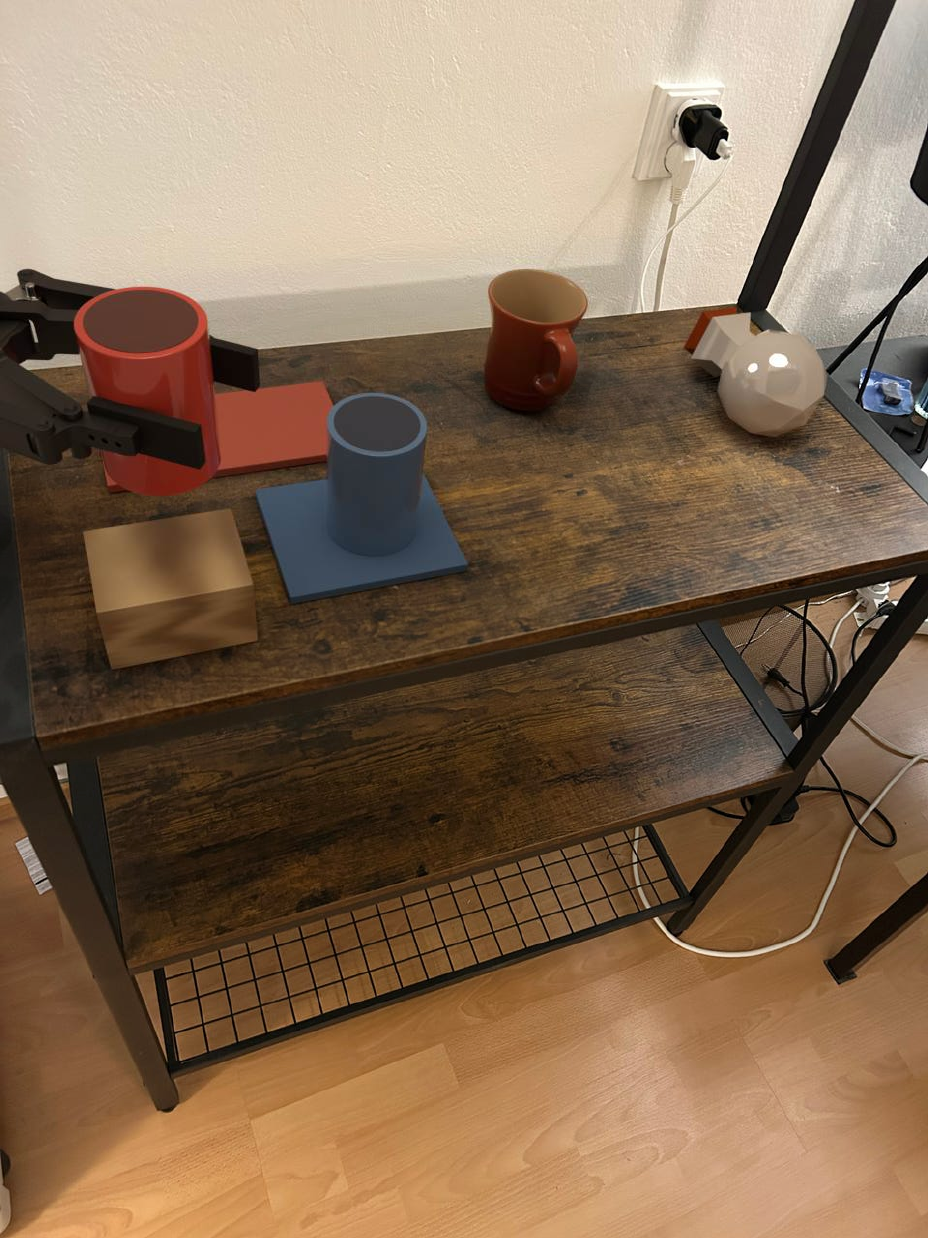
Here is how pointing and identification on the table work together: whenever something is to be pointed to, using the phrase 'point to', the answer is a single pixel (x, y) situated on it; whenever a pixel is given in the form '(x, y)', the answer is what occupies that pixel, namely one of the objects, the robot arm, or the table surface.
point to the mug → (532, 338)
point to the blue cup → (374, 473)
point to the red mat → (269, 429)
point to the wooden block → (171, 587)
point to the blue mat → (330, 569)
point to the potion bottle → (758, 372)
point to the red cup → (151, 376)
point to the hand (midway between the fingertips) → (229, 407)
